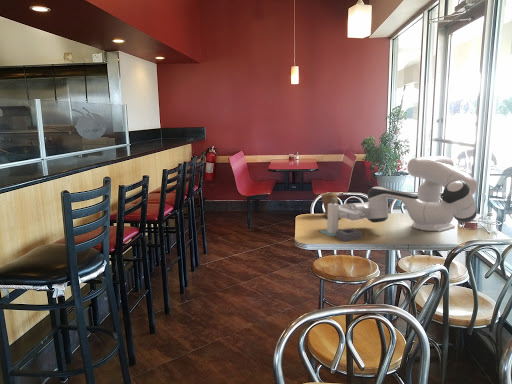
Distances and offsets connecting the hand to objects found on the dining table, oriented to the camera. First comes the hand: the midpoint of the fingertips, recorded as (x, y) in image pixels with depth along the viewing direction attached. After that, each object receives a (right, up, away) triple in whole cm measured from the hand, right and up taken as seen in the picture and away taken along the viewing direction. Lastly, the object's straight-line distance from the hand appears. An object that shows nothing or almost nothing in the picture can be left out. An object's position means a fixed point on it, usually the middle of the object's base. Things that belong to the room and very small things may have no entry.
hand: (333, 214), depth 212 cm
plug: (0, -9, +1) cm, 10 cm away
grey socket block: (+6, -12, -8) cm, 15 cm away
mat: (0, -10, +2) cm, 10 cm away
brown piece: (+6, -4, +37) cm, 38 cm away
